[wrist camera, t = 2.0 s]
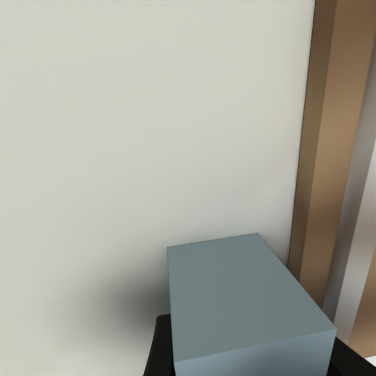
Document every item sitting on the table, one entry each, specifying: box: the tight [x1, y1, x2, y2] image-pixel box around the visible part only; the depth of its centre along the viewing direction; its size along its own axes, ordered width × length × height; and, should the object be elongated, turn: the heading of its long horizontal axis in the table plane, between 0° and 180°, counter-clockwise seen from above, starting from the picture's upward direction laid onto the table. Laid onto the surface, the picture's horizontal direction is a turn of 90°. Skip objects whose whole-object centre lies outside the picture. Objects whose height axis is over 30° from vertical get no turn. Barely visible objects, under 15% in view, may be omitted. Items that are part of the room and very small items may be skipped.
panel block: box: [167, 233, 337, 376], centre depth 9 cm, size 7×4×5 cm, turn 5°
